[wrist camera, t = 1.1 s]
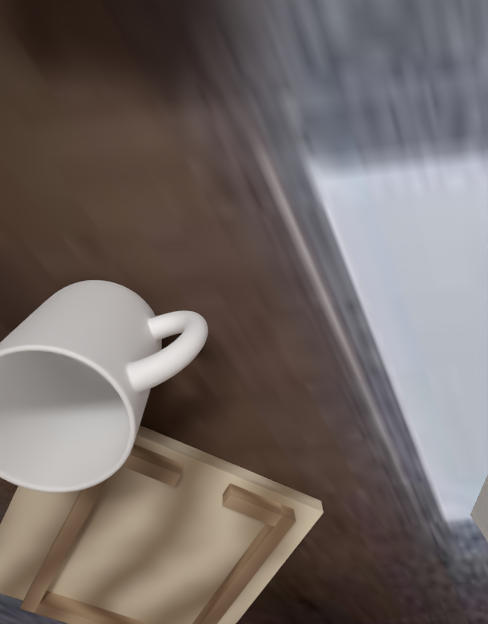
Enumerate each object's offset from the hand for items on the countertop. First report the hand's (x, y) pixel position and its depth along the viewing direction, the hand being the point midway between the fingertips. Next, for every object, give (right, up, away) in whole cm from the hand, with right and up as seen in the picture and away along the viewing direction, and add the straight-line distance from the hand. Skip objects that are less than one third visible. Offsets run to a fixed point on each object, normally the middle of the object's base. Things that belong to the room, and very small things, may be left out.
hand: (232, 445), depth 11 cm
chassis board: (-8, -16, +27) cm, 32 cm away
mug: (-8, +2, +20) cm, 22 cm away
